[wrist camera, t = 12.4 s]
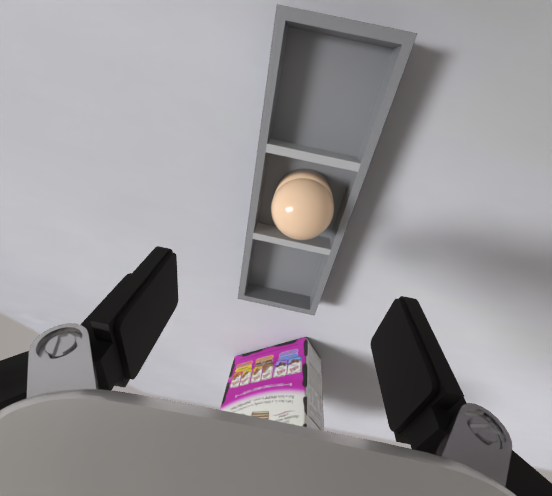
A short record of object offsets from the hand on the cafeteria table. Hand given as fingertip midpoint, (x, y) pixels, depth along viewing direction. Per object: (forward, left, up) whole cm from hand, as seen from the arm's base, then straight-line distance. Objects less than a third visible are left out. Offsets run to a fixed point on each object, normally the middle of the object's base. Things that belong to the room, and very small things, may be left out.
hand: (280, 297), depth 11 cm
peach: (0, +1, -13) cm, 13 cm away
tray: (0, 0, -14) cm, 14 cm away
